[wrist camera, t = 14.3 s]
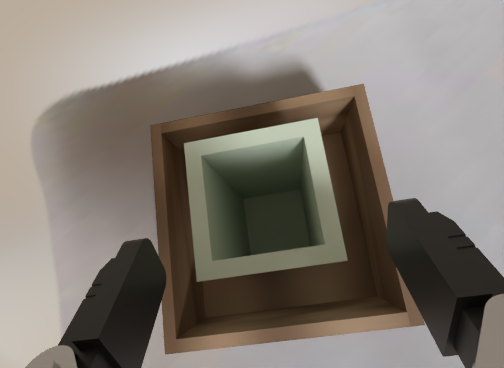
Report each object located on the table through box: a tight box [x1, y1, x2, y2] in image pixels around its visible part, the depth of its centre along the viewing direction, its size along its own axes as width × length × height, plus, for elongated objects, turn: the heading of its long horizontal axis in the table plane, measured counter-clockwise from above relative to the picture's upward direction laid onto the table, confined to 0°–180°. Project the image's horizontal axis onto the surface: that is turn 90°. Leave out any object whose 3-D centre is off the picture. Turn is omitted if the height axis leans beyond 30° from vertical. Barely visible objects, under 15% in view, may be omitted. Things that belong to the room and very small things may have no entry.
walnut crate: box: [151, 84, 425, 354], centre depth 18 cm, size 12×12×6 cm
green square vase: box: [184, 118, 348, 282], centre depth 15 cm, size 5×5×10 cm
